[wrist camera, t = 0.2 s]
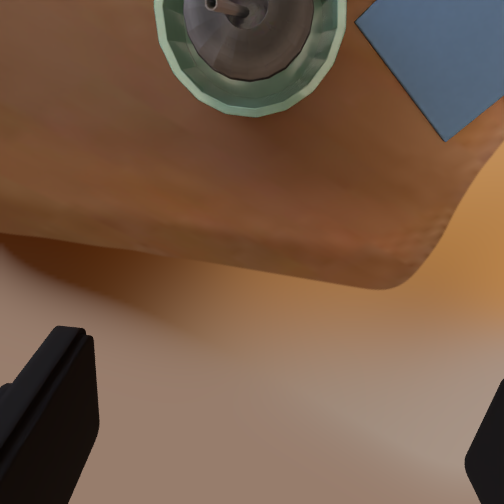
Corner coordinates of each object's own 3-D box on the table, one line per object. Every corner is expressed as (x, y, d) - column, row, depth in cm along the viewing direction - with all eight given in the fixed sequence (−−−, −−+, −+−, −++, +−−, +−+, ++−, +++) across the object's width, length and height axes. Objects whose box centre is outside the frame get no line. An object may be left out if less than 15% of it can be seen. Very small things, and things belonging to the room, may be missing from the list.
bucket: (255, -113, 30) (252, -165, 23) (360, 28, 34) (386, 21, 26) (146, 21, 34) (114, 12, 27) (251, 134, 38) (248, 153, 30)
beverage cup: (309, 55, 34) (360, 58, 16) (226, 86, 35) (188, 120, 17) (282, -46, 31) (309, -180, 13) (193, -9, 33) (107, -86, 14)
